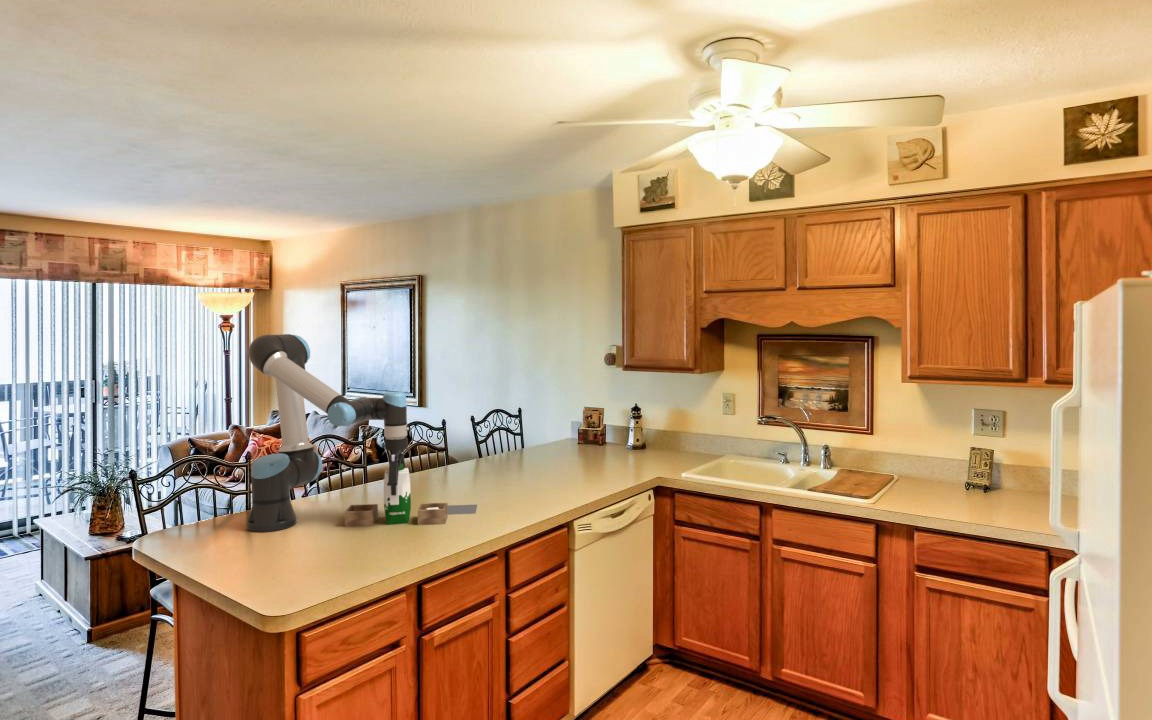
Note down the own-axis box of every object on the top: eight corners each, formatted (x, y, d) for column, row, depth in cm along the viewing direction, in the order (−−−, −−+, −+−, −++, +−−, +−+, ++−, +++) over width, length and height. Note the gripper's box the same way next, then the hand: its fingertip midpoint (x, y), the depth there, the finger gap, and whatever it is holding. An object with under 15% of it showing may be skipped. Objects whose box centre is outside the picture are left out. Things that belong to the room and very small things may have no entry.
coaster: (441, 516, 231) (441, 514, 231) (444, 507, 243) (444, 505, 243) (475, 515, 232) (475, 513, 232) (477, 506, 244) (477, 504, 244)
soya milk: (410, 518, 229) (409, 461, 228) (411, 525, 221) (410, 466, 220) (384, 520, 227) (383, 463, 226) (384, 527, 218) (383, 468, 217)
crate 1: (344, 528, 218) (344, 512, 217) (351, 520, 227) (351, 505, 226) (372, 527, 219) (372, 511, 218) (378, 519, 228) (377, 504, 227)
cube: (428, 522, 221) (427, 511, 221) (426, 519, 225) (426, 508, 225) (439, 521, 223) (439, 509, 223) (438, 518, 226) (437, 507, 226)
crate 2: (417, 526, 219) (417, 510, 219) (421, 519, 228) (421, 503, 228) (445, 525, 220) (444, 509, 220) (447, 518, 229) (447, 502, 229)
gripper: (401, 443, 210) (403, 508, 211) (412, 431, 235) (414, 490, 236) (377, 444, 210) (379, 509, 211) (391, 432, 234) (393, 491, 235)
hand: (398, 499), depth 223 cm, fingers open, 13 cm apart
